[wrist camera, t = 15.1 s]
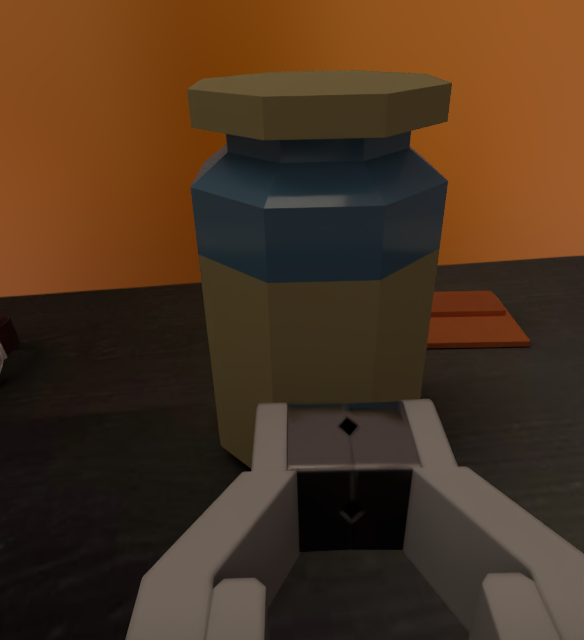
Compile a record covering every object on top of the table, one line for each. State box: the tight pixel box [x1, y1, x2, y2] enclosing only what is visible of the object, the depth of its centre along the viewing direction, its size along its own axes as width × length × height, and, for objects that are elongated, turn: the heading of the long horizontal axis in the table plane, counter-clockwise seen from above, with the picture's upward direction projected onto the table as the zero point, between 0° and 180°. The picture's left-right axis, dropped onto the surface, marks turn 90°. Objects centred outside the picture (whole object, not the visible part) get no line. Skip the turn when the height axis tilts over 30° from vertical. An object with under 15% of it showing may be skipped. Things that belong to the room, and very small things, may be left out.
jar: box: [187, 70, 452, 468], centre depth 21 cm, size 9×9×15 cm
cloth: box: [427, 291, 530, 348], centre depth 33 cm, size 14×6×1 cm, turn 90°
